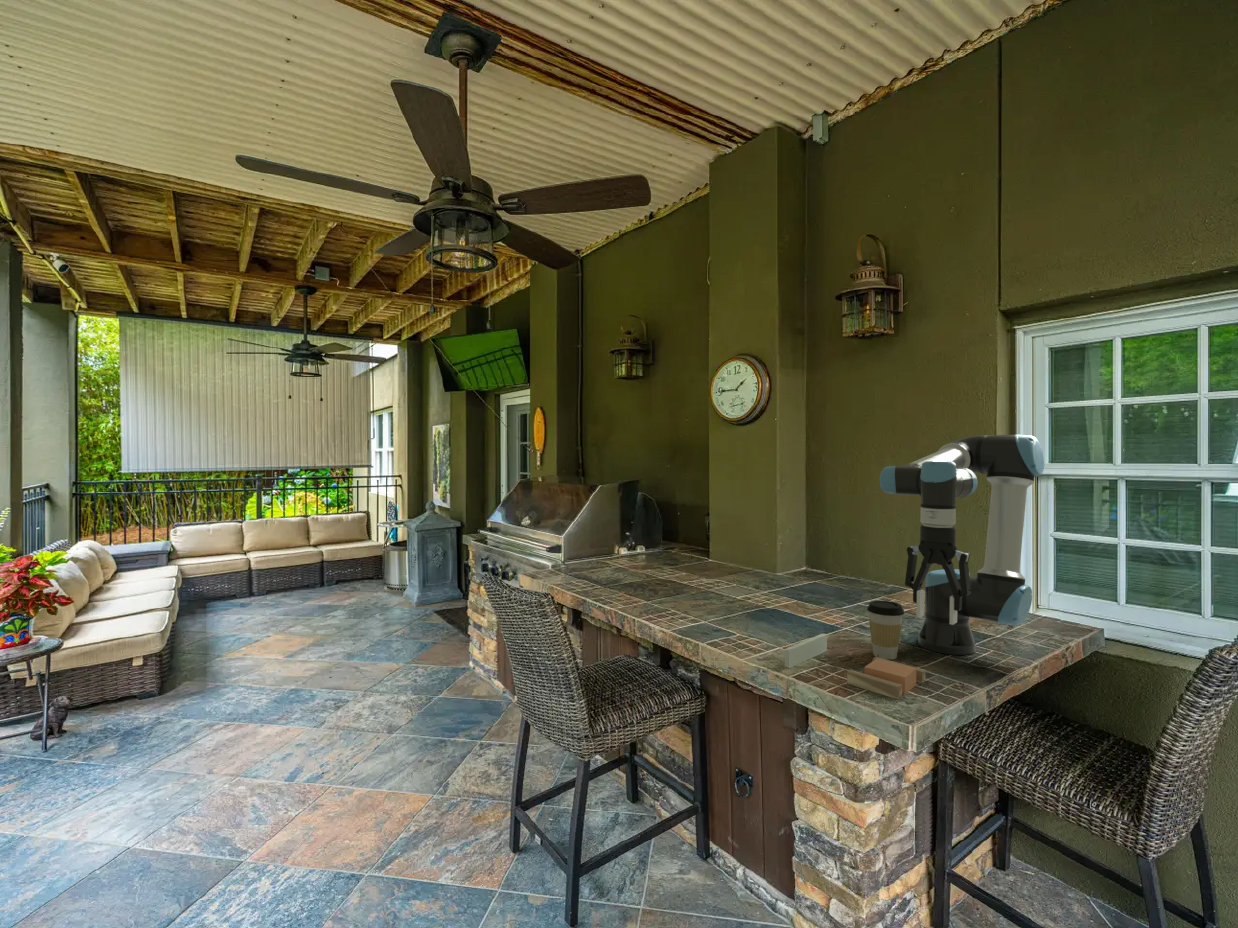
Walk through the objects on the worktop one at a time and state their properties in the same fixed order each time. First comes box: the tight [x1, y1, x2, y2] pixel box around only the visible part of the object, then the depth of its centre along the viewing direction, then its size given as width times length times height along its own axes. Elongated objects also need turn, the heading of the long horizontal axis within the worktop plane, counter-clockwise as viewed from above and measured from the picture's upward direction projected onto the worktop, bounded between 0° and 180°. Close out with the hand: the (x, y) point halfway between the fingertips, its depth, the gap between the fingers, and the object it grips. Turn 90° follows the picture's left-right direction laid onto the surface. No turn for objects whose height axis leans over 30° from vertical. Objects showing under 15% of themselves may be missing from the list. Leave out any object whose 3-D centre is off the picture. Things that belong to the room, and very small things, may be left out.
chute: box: [846, 656, 926, 700], centre depth 155 cm, size 16×13×3 cm
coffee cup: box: [866, 600, 905, 660], centre depth 174 cm, size 10×10×15 cm
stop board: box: [784, 632, 828, 669], centre depth 172 cm, size 20×1×5 cm, turn 132°
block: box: [863, 659, 917, 695], centre depth 154 cm, size 8×10×4 cm
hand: (936, 619), depth 145 cm, fingers open, 7 cm apart
